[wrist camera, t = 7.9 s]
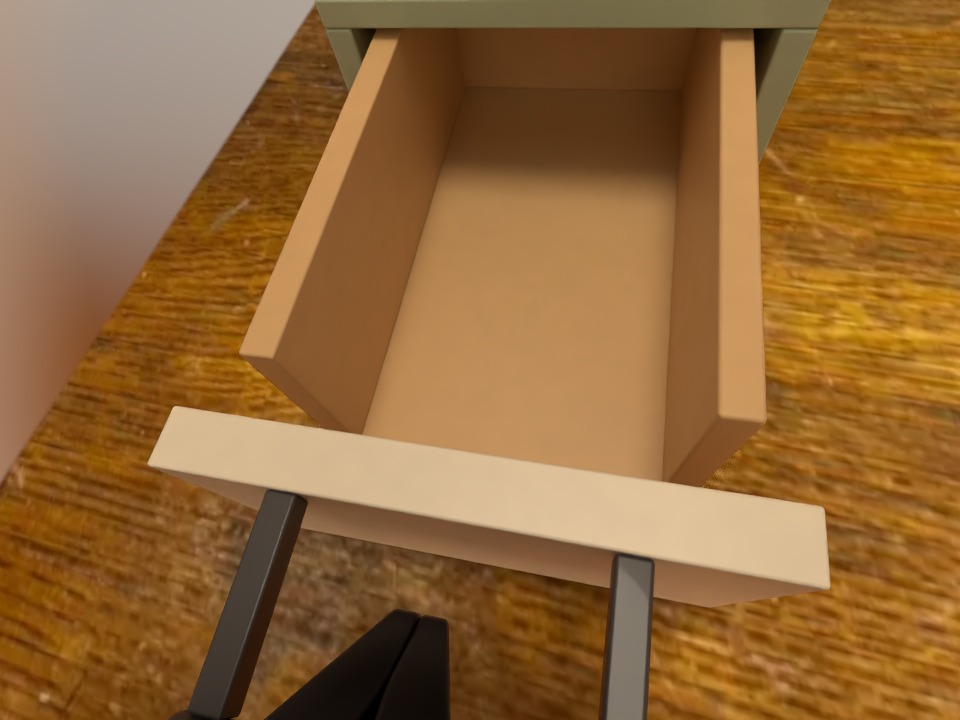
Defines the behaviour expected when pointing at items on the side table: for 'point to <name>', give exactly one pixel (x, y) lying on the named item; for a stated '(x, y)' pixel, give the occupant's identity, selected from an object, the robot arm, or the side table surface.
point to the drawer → (518, 336)
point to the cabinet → (599, 4)
